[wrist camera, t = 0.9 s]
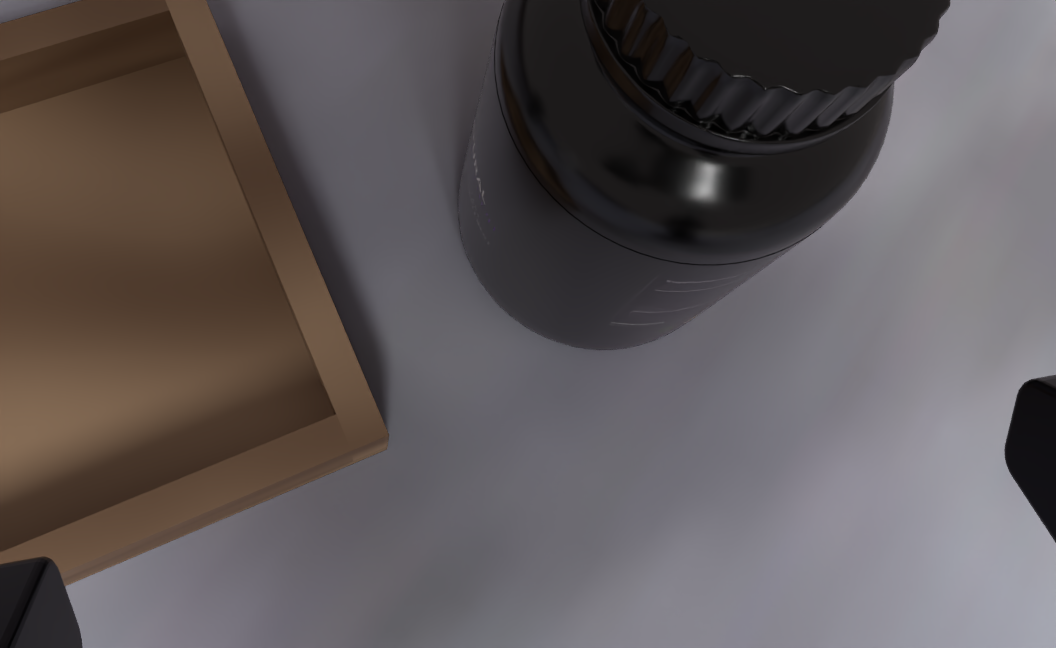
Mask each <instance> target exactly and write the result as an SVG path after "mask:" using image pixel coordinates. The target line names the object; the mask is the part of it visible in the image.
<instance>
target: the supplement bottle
mask: <svg viewBox="0 0 1056 648" xmlns="http://www.w3.org/2000/svg"><path fill="white" fill-rule="evenodd" d="M949 7H950V0H505V1H504V4H503V7H502V10H501V14H500V17H499V20H498V24H497V28H496V32H495V36H494V40H493V44H492V48H491V53H490V57H489V61H488V65H487V69H486V73H485V77H484V82H483V86H482V90H481V94H480V98H479V102H478V106H477V111H476V115H475V119H474V123H473V127H472V131H471V135H470V140H469V144H468V148H467V152H466V156H465V160H464V165H463V171H462V176H461V182H460V187H459V199H458V212H459V225H460V232H461V236H462V241H463V245H464V248H465V251H466V254H467V257H468V259H469V261H470V263H471V266H472V268H473V270H474V272H475V274H476V275H477V277H478V279H479V280H480V282H481V284H482V285H483V286H484V288H485V289H486V291H487V292H488V293H489V295H490V296H491V297H492V298H493V299H494V300H495V301H496V303H497V304H498V305H499V306H500V307H501V308H502V309H503V310H505V311H506V312H507V313H508V314H509V315H510V316H511V317H513V318H514V319H515V320H517V321H518V322H519V323H520V324H522V325H524V326H525V327H527V328H528V329H530V330H532V331H533V332H535V333H537V334H539V335H541V336H543V337H545V338H548V339H550V340H553V341H556V342H558V343H562V344H565V345H569V346H573V347H578V348H583V349H593V350H615V349H624V348H630V347H634V346H639V345H642V344H645V343H648V342H651V341H654V340H656V339H659V338H661V337H663V336H665V335H668V334H669V333H671V332H673V331H675V330H676V329H678V328H680V327H681V326H683V325H684V324H686V323H687V322H689V321H691V320H692V319H694V318H695V317H696V316H698V315H699V314H701V313H702V312H703V311H705V310H706V309H708V308H709V307H710V306H712V305H713V304H715V303H716V302H717V301H719V300H720V299H722V298H723V297H724V296H726V295H727V294H729V293H730V292H731V291H733V290H734V289H736V288H737V287H738V286H740V285H741V284H743V283H744V282H745V281H747V280H748V279H750V278H751V277H752V276H754V275H755V274H757V273H758V272H759V271H761V270H762V269H764V268H765V267H766V266H768V265H769V264H771V263H772V262H773V261H775V260H776V259H778V258H779V257H780V256H782V255H783V254H785V253H786V252H787V251H789V250H790V249H792V248H793V247H794V246H796V245H797V244H799V243H800V242H801V241H803V240H804V239H806V238H807V237H808V236H810V235H811V234H812V233H814V232H815V231H817V230H818V229H819V228H821V227H822V226H823V225H824V224H825V223H826V222H827V221H829V220H830V219H831V218H832V217H833V216H834V215H835V214H836V213H837V212H838V211H839V210H841V209H842V208H843V207H844V206H845V205H846V204H847V203H848V201H849V200H850V199H851V198H852V197H853V196H854V195H855V193H856V192H857V191H858V189H859V188H860V187H861V185H862V184H863V182H864V181H865V179H866V178H867V176H868V175H869V173H870V171H871V169H872V167H873V165H874V163H875V162H876V160H877V158H878V155H879V153H880V150H881V148H882V145H883V143H884V140H885V136H886V133H887V129H888V126H889V122H890V116H891V111H892V105H893V93H894V81H895V80H896V79H898V78H899V77H900V76H901V75H902V74H903V73H904V72H905V71H907V70H908V69H909V68H910V67H911V66H912V65H913V64H914V63H915V61H916V60H917V58H918V57H919V55H920V53H921V51H922V50H923V49H924V48H925V47H926V46H927V45H928V44H929V43H930V42H931V41H932V40H933V39H934V37H935V36H936V34H937V32H938V28H939V19H940V18H941V17H942V16H943V15H944V14H945V13H946V11H947V10H948V8H949Z"/></svg>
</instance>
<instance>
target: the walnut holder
mask: <svg viewBox="0 0 1056 648" xmlns="http://www.w3.org/2000/svg"><path fill="white" fill-rule="evenodd" d="M388 439H389V434H388V431H387V429H386V427H385V424H384V422H383V420H382V417H381V415H380V412H379V410H378V408H377V405H376V403H375V401H374V398H373V396H372V393H371V391H370V389H369V386H368V384H367V382H366V379H365V377H364V374H363V372H362V370H361V367H360V365H359V363H358V360H357V358H356V355H355V353H354V351H353V348H352V346H351V344H350V341H349V339H348V336H347V334H346V332H345V329H344V327H343V325H342V322H341V320H340V317H339V315H338V313H337V310H336V308H335V305H334V303H333V301H332V298H331V296H330V294H329V291H328V289H327V286H326V284H325V282H324V279H323V277H322V275H321V272H320V270H319V267H318V265H317V263H316V260H315V258H314V256H313V253H312V251H311V248H310V246H309V244H308V241H307V239H306V237H305V234H304V232H303V229H302V227H301V225H300V222H299V220H298V218H297V215H296V213H295V210H294V208H293V206H292V203H291V201H290V199H289V196H288V194H287V191H286V189H285V187H284V184H283V182H282V180H281V177H280V175H279V172H278V170H277V168H276V165H275V163H274V161H273V158H272V156H271V153H270V151H269V149H268V146H267V144H266V142H265V139H264V137H263V134H262V132H261V130H260V127H259V125H258V123H257V120H256V118H255V115H254V113H253V111H252V108H251V106H250V104H249V101H248V99H247V96H246V94H245V92H244V89H243V87H242V85H241V82H240V80H239V77H238V75H237V73H236V70H235V68H234V66H233V63H232V61H231V58H230V56H229V54H228V51H227V49H226V47H225V44H224V42H223V39H222V37H221V35H220V32H219V30H218V28H217V25H216V23H215V20H214V18H213V16H212V13H211V11H210V8H209V6H208V4H207V1H206V0H81V1H77V2H74V3H70V4H67V5H63V6H60V7H57V8H53V9H50V10H46V11H43V12H39V13H36V14H32V15H29V16H26V17H22V18H19V19H15V20H12V21H8V22H5V23H1V24H0V564H3V563H8V562H13V561H19V560H25V559H30V558H36V557H41V556H45V557H48V558H50V559H52V560H53V561H54V562H55V564H56V565H57V567H58V569H59V571H60V574H61V577H62V580H63V583H64V585H65V586H67V585H69V584H71V583H74V582H76V581H78V580H81V579H83V578H85V577H88V576H90V575H93V574H95V573H97V572H100V571H102V570H104V569H107V568H109V567H111V566H114V565H116V564H118V563H121V562H123V561H125V560H128V559H130V558H133V557H135V556H137V555H140V554H142V553H144V552H147V551H149V550H151V549H154V548H156V547H158V546H161V545H163V544H165V543H168V542H170V541H172V540H175V539H177V538H180V537H182V536H184V535H187V534H189V533H191V532H194V531H196V530H198V529H201V528H203V527H205V526H208V525H210V524H212V523H215V522H217V521H219V520H222V519H224V518H227V517H229V516H231V515H234V514H236V513H238V512H241V511H243V510H245V509H248V508H250V507H252V506H255V505H257V504H259V503H262V502H264V501H266V500H269V499H271V498H274V497H276V496H278V495H281V494H283V493H285V492H288V491H290V490H292V489H295V488H297V487H299V486H302V485H304V484H306V483H309V482H311V481H313V480H316V479H318V478H321V477H323V476H325V475H328V474H330V473H332V472H335V471H337V470H339V469H342V468H344V467H346V466H349V465H351V464H353V463H356V462H358V461H361V460H363V459H365V458H368V457H370V456H372V455H375V454H377V453H379V452H382V451H384V450H386V449H387V446H388Z"/></svg>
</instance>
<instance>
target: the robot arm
mask: <svg viewBox="0 0 1056 648" xmlns="http://www.w3.org/2000/svg"><path fill="white" fill-rule="evenodd" d="M1005 460H1006V464H1007V467H1008V469H1009V472H1010V473H1011V475H1012V477H1013V478H1014V480H1015V481H1016V483H1017V484H1018V486H1019V487H1020V489H1021V491H1022V492H1023V494H1024V495H1025V497H1026V498H1027V500H1028V501H1029V503H1030V504H1031V506H1032V507H1033V509H1034V510H1035V512H1036V513H1037V515H1038V516H1039V518H1040V519H1041V521H1042V522H1043V524H1044V525H1045V527H1046V528H1047V530H1048V532H1049V533H1050V535H1051V536H1052V538H1053V539H1054V541H1055V542H1056V375H1052V376H1047V377H1041V378H1036V379H1031V380H1029V381H1027V382H1025V383H1024V384H1023V385H1022V387H1021V388H1020V389H1019V391H1018V394H1017V398H1016V402H1015V406H1014V410H1013V414H1012V418H1011V423H1010V427H1009V431H1008V435H1007V439H1006V444H1005ZM0 648H82V638H81V633H80V629H79V625H78V623H77V620H76V617H75V614H74V611H73V608H72V605H71V603H70V600H69V597H68V594H67V591H66V588H65V585H64V583H63V580H62V577H61V574H60V571H59V569H58V567H57V565H56V564H55V562H54V561H53V560H52V559H50V558H48V557H45V556H41V557H36V558H30V559H25V560H19V561H13V562H8V563H3V564H0Z"/></svg>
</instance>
